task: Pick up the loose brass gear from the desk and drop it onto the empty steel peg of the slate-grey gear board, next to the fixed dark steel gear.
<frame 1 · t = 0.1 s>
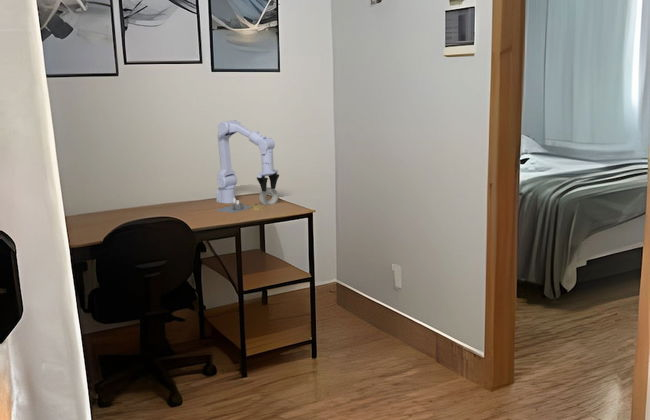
hand: (268, 189, 315), 10 cm above the table, tool pointing down, fingers open, 7 cm apart
donut: (269, 207, 325), on the table
fixed gear: (238, 209, 312), resting on gear board
brass gear: (256, 211, 313), on the table
gear board: (234, 211, 315), on the table
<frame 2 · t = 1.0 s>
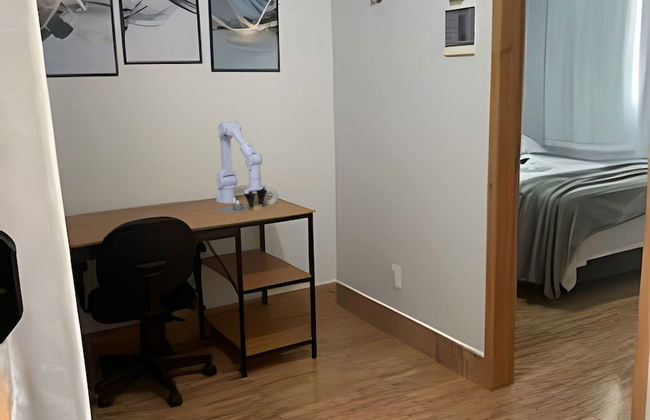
hand: (256, 205, 312), 3 cm above the table, tool pointing down, fingers open, 7 cm apart
nothing on the table moved.
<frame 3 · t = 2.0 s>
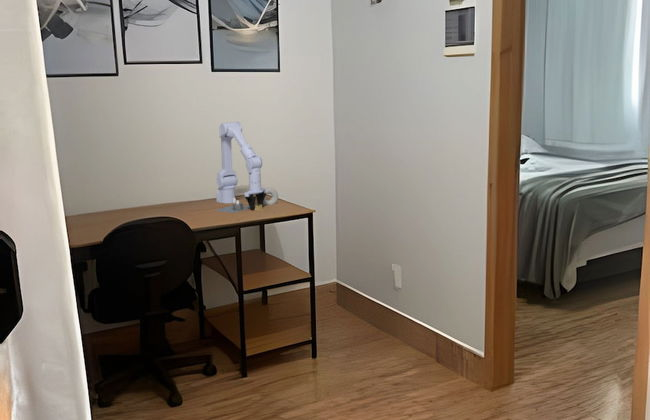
hand: (256, 208, 312), 2 cm above the table, tool pointing down, fingers closed on brass gear, 5 cm apart
brass gear: (256, 211, 313), on the table, touching gripper
everything else where it was.
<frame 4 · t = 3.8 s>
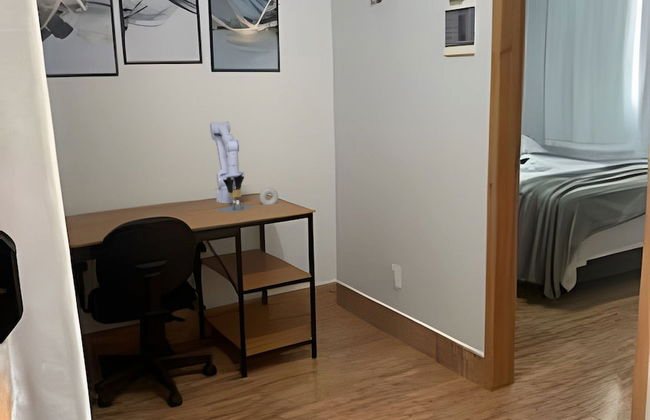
hand: (234, 191, 317), 9 cm above the table, tool pointing down, fingers closed on brass gear, 5 cm apart
brass gear: (235, 196, 317), point 7 cm above the table, touching gripper
everything else where it was.
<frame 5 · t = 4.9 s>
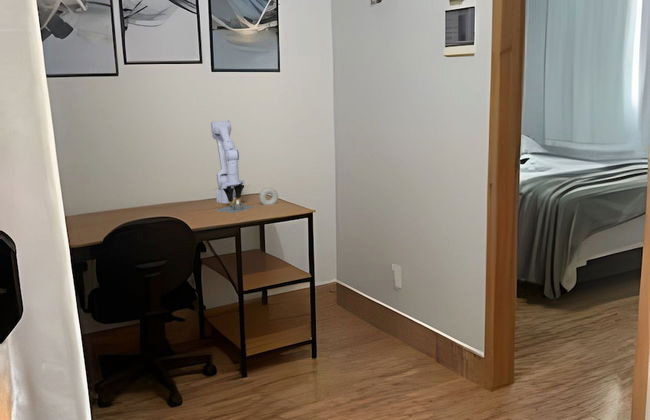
hand: (234, 200, 318), 5 cm above the table, tool pointing down, fingers closed on brass gear, 5 cm apart
brass gear: (235, 205, 318), point 2 cm above the table, touching gripper
everything else where it was.
when the fingers open (5 cm above the table, at t = 5.6 s): brass gear stays where it is, resting on gear board.
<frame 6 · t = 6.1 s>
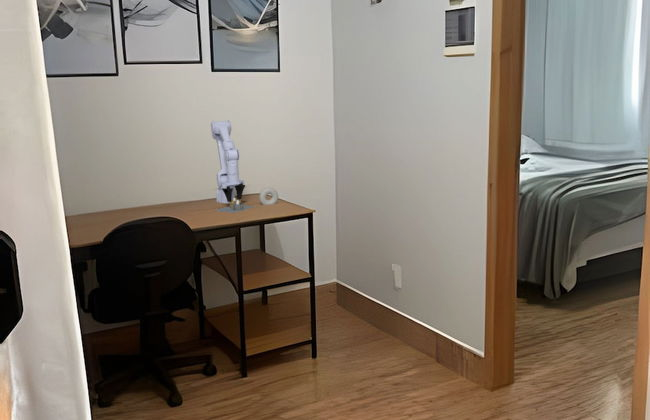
hand: (234, 200, 318), 5 cm above the table, tool pointing down, fingers open, 7 cm apart
brass gear: (235, 207, 318), point 1 cm above the table, touching gear board
everything else where it was.
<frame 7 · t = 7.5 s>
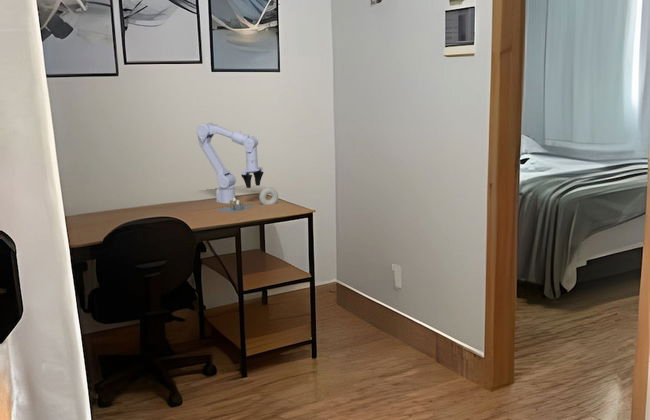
hand: (253, 186, 326), 10 cm above the table, tool pointing down, fingers open, 7 cm apart
nothing on the table moved.
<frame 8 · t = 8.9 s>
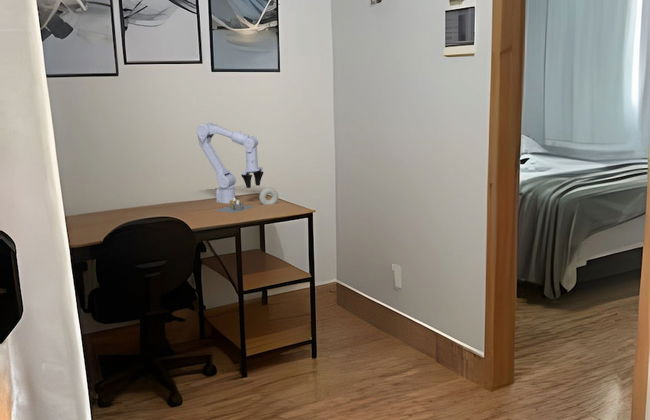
hand: (253, 186, 326), 10 cm above the table, tool pointing down, fingers open, 7 cm apart
nothing on the table moved.
at the end: brass gear 0.5 cm from the target spot, point 1.5 cm above the table; the gripper is holding nothing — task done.
